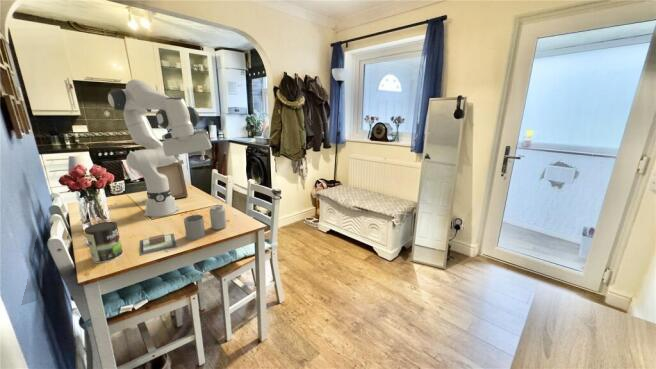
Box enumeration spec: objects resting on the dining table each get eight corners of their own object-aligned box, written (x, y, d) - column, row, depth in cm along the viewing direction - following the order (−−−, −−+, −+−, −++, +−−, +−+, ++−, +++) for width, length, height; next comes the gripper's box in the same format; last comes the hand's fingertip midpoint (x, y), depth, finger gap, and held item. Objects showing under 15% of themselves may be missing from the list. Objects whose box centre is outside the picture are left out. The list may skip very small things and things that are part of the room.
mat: (139, 241, 124) (139, 240, 124) (173, 234, 132) (173, 233, 132) (139, 256, 112) (139, 255, 112) (176, 247, 119) (176, 246, 119)
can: (217, 231, 135) (215, 210, 132) (208, 228, 139) (206, 207, 136) (229, 226, 142) (227, 205, 138) (220, 223, 145) (218, 203, 142)
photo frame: (188, 197, 187) (183, 163, 180) (152, 204, 172) (145, 167, 166) (182, 192, 197) (177, 160, 190) (148, 198, 183) (141, 163, 176)
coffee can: (129, 250, 117) (122, 221, 113) (112, 263, 107) (105, 231, 103) (104, 250, 116) (97, 221, 112) (85, 263, 106) (77, 232, 102)
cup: (197, 241, 125) (195, 222, 122) (182, 239, 127) (179, 220, 124) (208, 233, 133) (206, 215, 130) (194, 232, 135) (192, 214, 132)
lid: (143, 241, 123) (142, 235, 122) (170, 236, 129) (169, 229, 128) (143, 252, 114) (142, 245, 114) (172, 245, 120) (171, 238, 120)
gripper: (208, 129, 126) (216, 157, 129) (163, 136, 122) (172, 165, 125) (205, 128, 120) (213, 158, 122) (157, 136, 116) (167, 167, 119)
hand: (192, 162), depth 124 cm, fingers open, 8 cm apart
